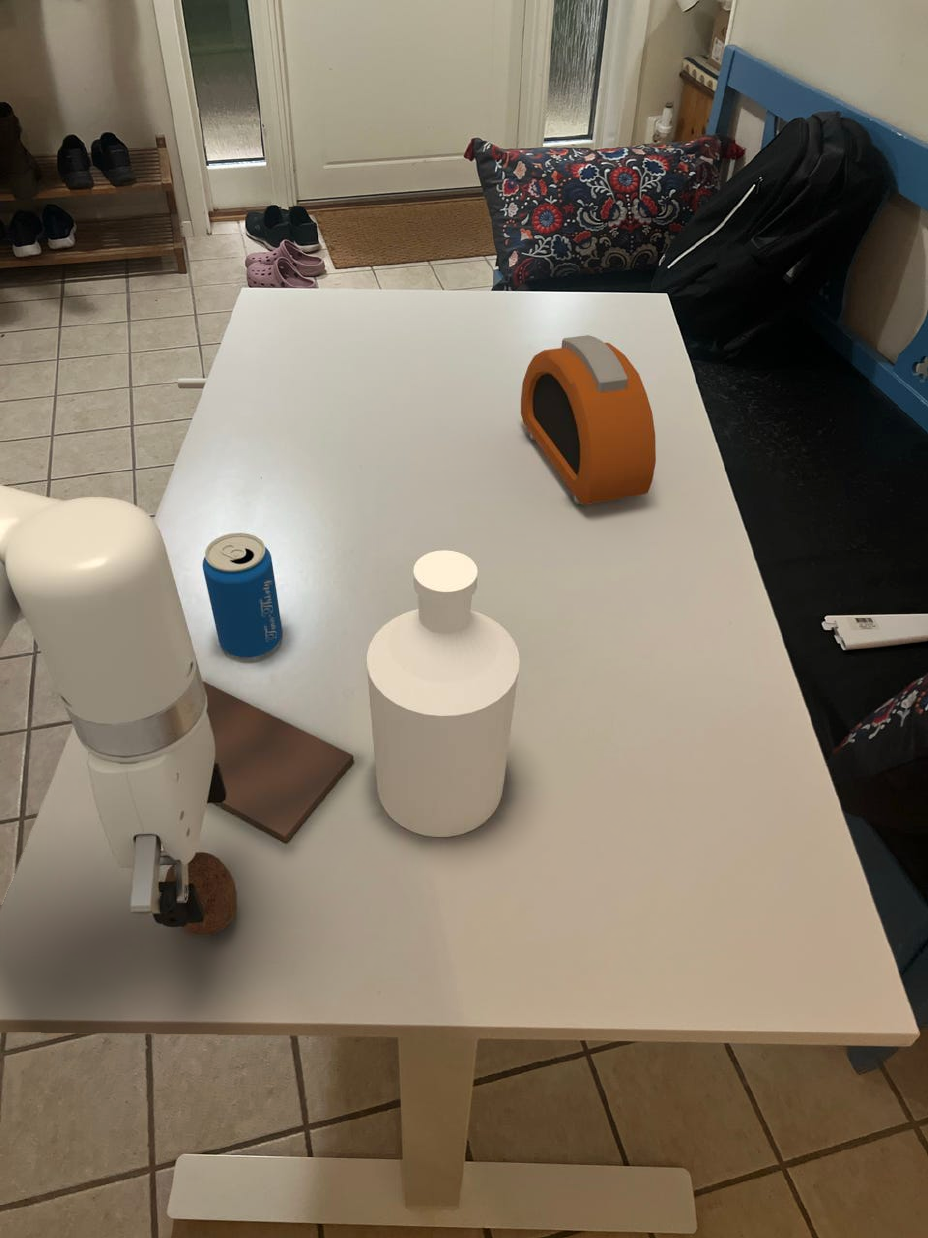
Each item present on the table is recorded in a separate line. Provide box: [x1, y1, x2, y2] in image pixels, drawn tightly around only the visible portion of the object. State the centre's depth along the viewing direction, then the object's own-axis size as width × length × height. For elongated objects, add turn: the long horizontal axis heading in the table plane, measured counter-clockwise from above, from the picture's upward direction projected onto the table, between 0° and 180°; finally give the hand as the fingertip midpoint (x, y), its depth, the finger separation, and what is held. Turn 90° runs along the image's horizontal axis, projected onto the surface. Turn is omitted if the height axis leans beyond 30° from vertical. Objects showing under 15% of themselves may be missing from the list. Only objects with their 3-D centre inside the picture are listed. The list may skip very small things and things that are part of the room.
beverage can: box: [202, 532, 283, 659], centre depth 88 cm, size 6×6×12 cm
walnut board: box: [202, 680, 355, 844], centre depth 81 cm, size 18×10×1 cm, turn 61°
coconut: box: [164, 851, 238, 937], centre depth 67 cm, size 5×5×8 cm
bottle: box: [366, 550, 521, 838], centre depth 71 cm, size 12×12×25 cm
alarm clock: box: [520, 334, 657, 506], centre depth 112 cm, size 23×9×17 cm, turn 18°
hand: (194, 856), depth 63 cm, fingers open, 9 cm apart
